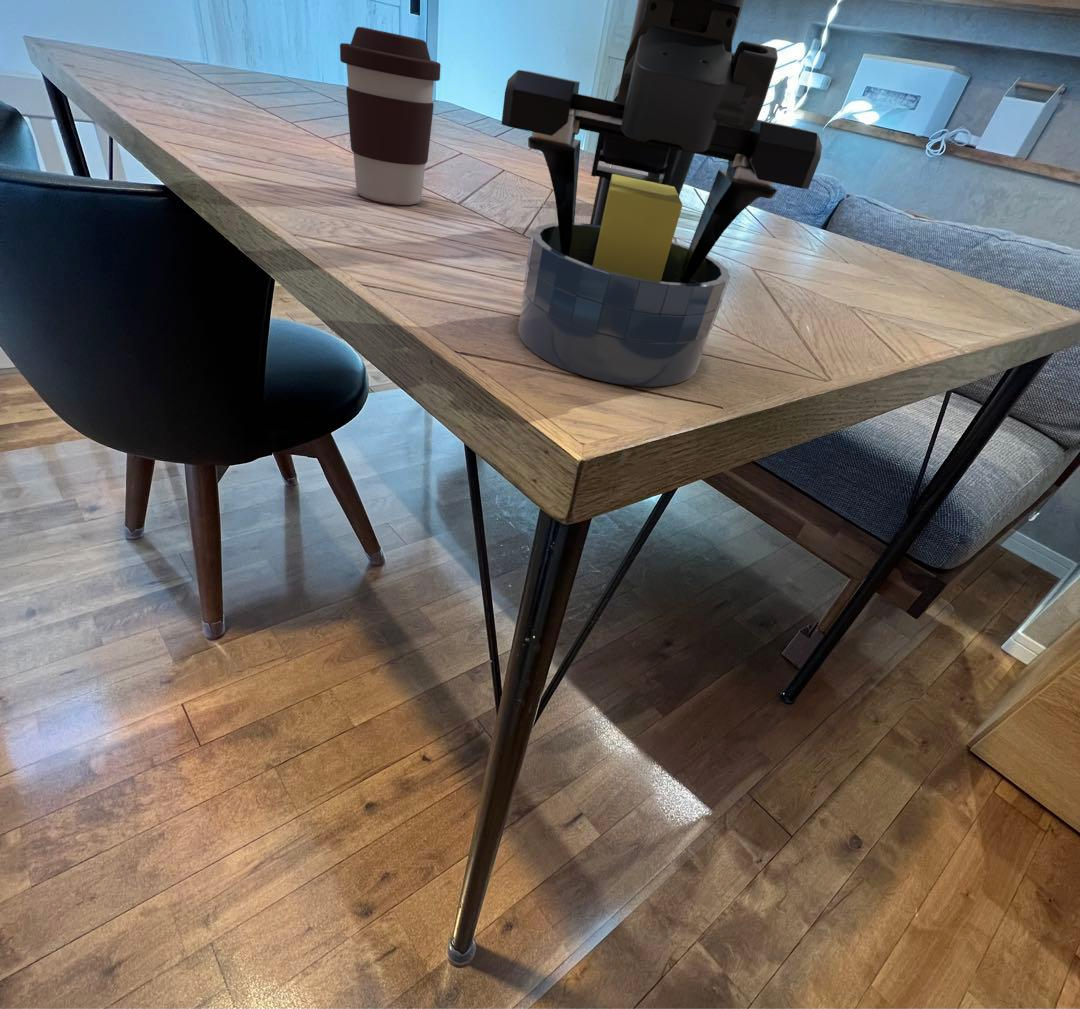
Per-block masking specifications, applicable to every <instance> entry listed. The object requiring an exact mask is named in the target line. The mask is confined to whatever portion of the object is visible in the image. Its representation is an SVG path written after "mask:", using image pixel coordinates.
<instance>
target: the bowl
mask: <svg viewBox="0 0 1080 1009" xmlns="http://www.w3.org/2000/svg"><path fill="white" fill-rule="evenodd" d="M600 228H601V225H594V224H590V223H583V222H574V232H573V239H572V244H571V249H570V254H569V257H568V256H565V255H564V254H562V253H561V244H560V235H559V226H558V222H555V223H546V224H542V225H539V226H536V227H535V228H534V229H533V231H531V234H530V239H529V247H528V253H527V261H526V267H525V273H524V280H523V292H522V297H521V298H522V299H521V305H520V306H521V307H520V312H519V319H518V326H517V333H518V336H519V339H520V340H521V342H522V343H523V344H524V345H525V346H526V348H527V349H528V350H530V352H532V353H533V354H535V356H538V357H539V358H541V359H542V360H544V361H546V362H547V363H549V364H551V365H553V366H555V367H557V368H560V369H562V370H565V371H567V372H570V373H572V374H575V375H578V376H581V377H585V378H588V379H591V380H595V381H599V382H604V383H609V384H613V385H620V386H629V387H641V388H642V387H643V388H652V387H653V388H655V387H656V388H658V387H666V386H673V385H678V384H680V383H683V382H685V381H688V380H690V379H691V378H692V377H693V376H694V375H695V374H696V372H697V370H698V367H699V365H700V361H701V360H702V356H703V353H704V351H705V347H706V344H707V342H708V339H709V335H710V333H711V331H712V329H713V327H714V325H715V322H716V319H717V316H718V314H719V311H720V308H721V304H722V302H723V299H724V297H725V293H726V292H727V291H726V290H727V287H728V286H729V282H730V279H731V275H730V272H729V270H728V269H727V268H726V267H725V266H724V265H723V264H721V263H720V262H719V261H718V260H716V259H714V258H712V257H710V256H709V255H707V256H706V258H705V259H704V261H703V262H702V263H701V265H700V266H699V268H698V269H697V271H696V272H695V274H694V275H693V276H692V278H691V279H690V281H689V282H688V283H680V277H681V273H682V269H683V265H684V261H685V258H686V255H687V252H688V249H689V247H690V246H686V245H684V244H681V243H678V242H675V241H672V244H671V247H670V251H669V254H668V258H667V261H666V265H665V268H664V272H663V275H662V279H661V281H656V280H650V279H643V278H637V277H633V276H629V275H624V274H620V273H615V272H611V271H608V270H605V269H601V268H598V267H595V266H592V265H593V261H594V256H595V251H596V247H597V242H598V237H599V233H600Z"/></svg>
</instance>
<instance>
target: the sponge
mask: <svg viewBox="0 0 1080 1009" xmlns="http://www.w3.org/2000/svg"><path fill="white" fill-rule="evenodd" d="M682 208H683V203H682V201H681V198H680V195H679V196H678V193H677V191H676V189H675V187H673V186H668V185H663V184H658V183H654V182H649V181H644V180H639V179H635V178H630V177H625V176H620V175H616V174H612V176H611V181H610V186H609V190H608V195H607V200H606V205H605V209H604V214H603V219H602V223H601V228H600V233H599V237H598V242H597V247H596V251H595V256H594V261H593V265H592V266H595V267H598V268H601V269H605V270H608V271H611V272H615V273H620V274H624V275H629V276H633V277H637V278H643V279H650V280H656V281H661V279H662V275H663V272H664V268H665V265H666V261H667V258H668V254H669V251H670V247H671V244H672V242H673V239H674V236H675V233H676V229H677V226H678V223H679V218H680V215H681V212H682Z"/></svg>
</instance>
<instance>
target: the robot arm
mask: <svg viewBox="0 0 1080 1009" xmlns="http://www.w3.org/2000/svg"><path fill="white" fill-rule="evenodd" d="M744 3H745V0H637V5H636V10H635V16H634V18H633V19H634V20H633V24H632V29H631V34H630V39H629V43H628V44H629V45H628V50H627V51H626V54H625V58H624V62H623V67H622V73H621V77H620V83H618V85H617V86H616V88H615V89H614V92H613V97H612V100H610V99H603V98H599V97H596V96H591V95H590V96H589V95H586V94H581V93H579V91H580V81H577V80H572V79H568V78H563V77H560V76H559V77H558V76H555V75H549V74H545V73H540V72H534V71H529V70H523V69H518V70H516V71H515V72H514V73H513V74H512V75H511V76H510V77H509V78H508V79H507V82H506V86H505V91H504V97H503V107H502V115H501V125H502V126H506V127H507V128H513V129H518V130H522V131H523V130H524V131H527V132H532V133H531V136H529V137H528V138H527V141H528V142H527V146H528V148H529V149H532V150H535V151H540V152H542V154H543V157H544V160H545V163H546V166H547V169H548V172H549V176H550V181H551V185H552V190H553V192H554V193H553V194H554V201H555V209H556V216H557V223H558V226H559V235H560V244H561V253H562V254H564V255H565V256H568V257H569V254H570V249H571V244H572V239H573V232H574V223H575V218H576V204H577V194H578V193H577V191H578V179H579V167H580V154H581V142H582V141H581V139H576V136H578V135H579V133H580V130H583V131H587V132H592V133H597V134H598V137H597V142H596V147H595V153H594V157H593V163H592V169H591V173H590V176H591V177H593V178H596V177H598V183H597V188H596V193H595V197H594V202H593V207H592V208H593V209H592V212H591V216H590V222H589V224H594V225H601V223H602V219H603V214H604V209H605V205H606V200H607V195H608V190H609V186H610V181H611V176H612V174H616V175H620V176H625V177H630V178H635V179H639V180H644V181H649V182H654V183H658V184H663V185H668V186H670V185H671V182H672V178H673V175H674V171H675V168H676V166H677V163H678V160H679V157H680V154H681V151H687V152H692V153H695V154H697V155H700V156H705V157H711V158H715V159H720V160H726V161H727V168H726V170H724V169H723V170H722V169H718V170H717V172H716V175H715V178H714V181H713V183H712V186H711V189H710V192H709V194H708V197H707V199H706V202H705V205H704V208H703V210H702V212H701V216H700V217H699V221H698V222H697V226H696V229H695V231H694V234H693V236H692V238H691V242H690V244H689V246H688V247H689V249H688V252H687V255H686V258H685V261H684V265H683V269H682V273H681V277H680V283H688V282H689V281H690V279H691V278H692V276H693V275H694V274H695V272H696V271H697V269H698V268H699V266H700V265H701V263H702V262H703V261H704V259H705V258H706V256H709V254H710V252H711V251H712V249H713V247H714V246H715V245H716V242H718V240H720V237H721V236H722V235H723V234H724V232H725V231H726V230H727V229H728V227H729V226H730V225H731V224H732V223H733V221H734V220H736V218H737V217H738V216H739V215H740V214H741V213H742V212H743V211H744V210H745V209H746V208H748V207H749V206H750V205H751V204H752V203H753V202H755V201H756V200H757V199H759V198H764V199H771V200H772V199H774V197H775V196H776V194H777V192H778V190H777V189H776V188H775V187H773V184H778V185H783V186H789V187H791V188H798V189H803V190H804V189H805V190H808V189H809V188H810V186H811V184H812V181H813V178H814V176H815V173H816V171H817V168H818V166H819V164H820V160H821V156H822V149H823V145H822V142H821V138H820V135H819V133H818V132H814V131H811V130H808V129H804V128H800V127H796V126H790V125H785V124H781V123H775V122H771V121H767V120H762V119H759V117H760V113H761V111H762V109H763V106H764V104H765V101H766V98H767V94H768V92H769V89H770V85H771V81H772V78H773V75H774V73H775V70H776V66H777V62H778V59H779V57H778V50H777V48H776V47H773V46H768V45H764V44H759V43H755V42H749V41H744V40H743V41H740V42H739V43H738V45H737V47H736V49H735V52H733V41H734V38H735V35H736V31H737V28H738V24H739V21H740V18H741V13H742V10H743V7H744ZM600 162H602V163H604V164H606V165H610V166H611V165H612V166H616V167H620V168H626V169H629V170H630V169H631V170H634V171H635V170H636V171H639V172H643V173H644V172H645V173H648V172H649V173H653V174H660V177H659V178H657V177H652V176H648V174H643V173H642V174H641V173H637V172H632V171H628V170H623V169H618V168H615V167H614V168H613V167H609V166H604V165H600V164H599V163H600Z"/></svg>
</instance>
